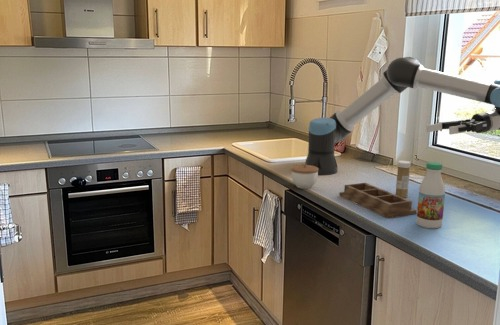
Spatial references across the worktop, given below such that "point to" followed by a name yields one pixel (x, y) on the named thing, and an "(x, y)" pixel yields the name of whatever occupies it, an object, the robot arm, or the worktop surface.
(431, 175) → the milk bottle
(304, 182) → the lidded jar
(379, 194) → the wooden compartment tray
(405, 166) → the spice bottle
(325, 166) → the robot arm
